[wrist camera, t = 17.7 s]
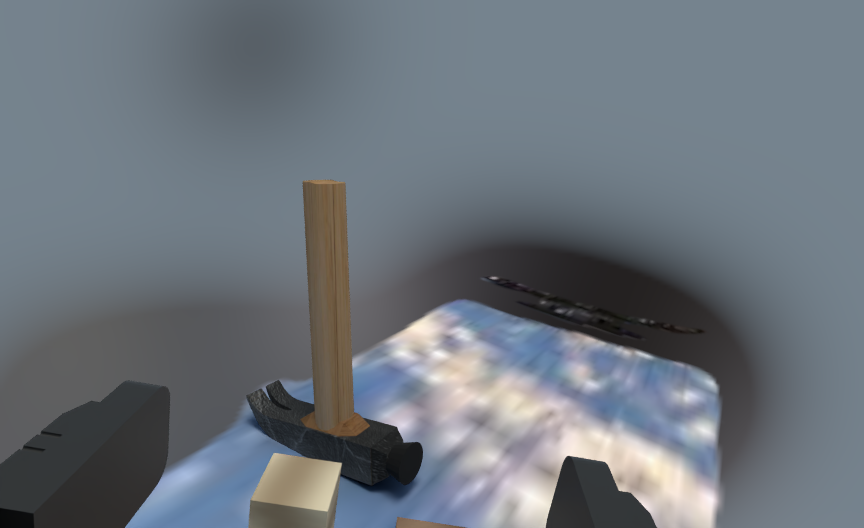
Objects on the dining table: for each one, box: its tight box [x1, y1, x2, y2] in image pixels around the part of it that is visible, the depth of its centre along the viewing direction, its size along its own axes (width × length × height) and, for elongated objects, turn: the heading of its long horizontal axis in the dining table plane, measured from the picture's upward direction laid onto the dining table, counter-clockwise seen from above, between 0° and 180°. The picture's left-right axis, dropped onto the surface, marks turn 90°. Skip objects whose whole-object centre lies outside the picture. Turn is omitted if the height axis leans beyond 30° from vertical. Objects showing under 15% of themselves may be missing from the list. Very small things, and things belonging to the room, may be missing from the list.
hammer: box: [247, 180, 423, 486], centre depth 57 cm, size 20×5×30 cm, turn 60°
